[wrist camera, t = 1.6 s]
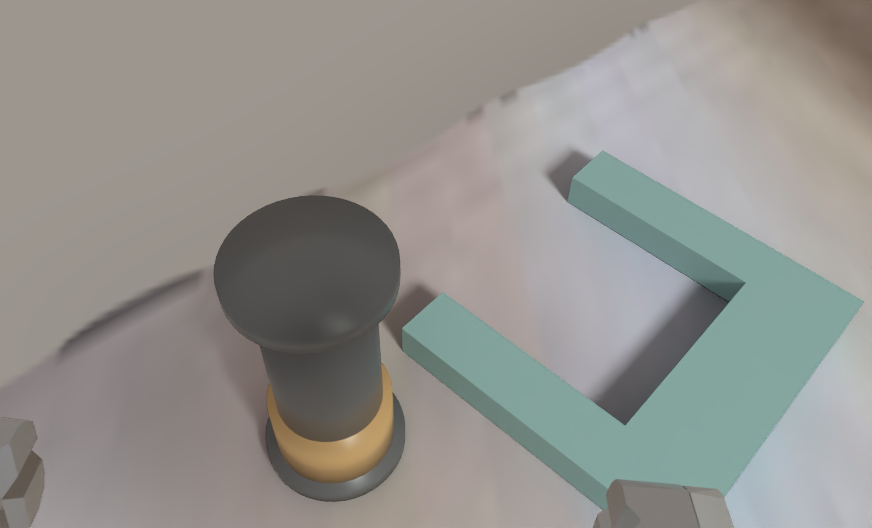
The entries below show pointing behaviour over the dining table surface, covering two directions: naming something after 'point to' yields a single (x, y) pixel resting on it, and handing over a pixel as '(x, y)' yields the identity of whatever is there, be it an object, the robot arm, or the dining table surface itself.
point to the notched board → (689, 380)
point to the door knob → (319, 338)
